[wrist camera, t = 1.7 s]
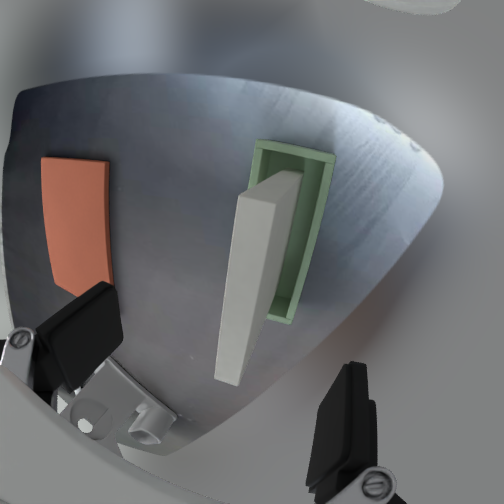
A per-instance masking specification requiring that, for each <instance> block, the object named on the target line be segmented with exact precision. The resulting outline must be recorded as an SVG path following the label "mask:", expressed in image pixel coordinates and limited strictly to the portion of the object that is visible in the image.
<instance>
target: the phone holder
mask: <svg viewBox="0 0 504 504" xmlns="http://www.w3.org/2000/svg"><path fill="white" fill-rule="evenodd" d="M94 372H95V376H94V377H93V378H92V379H91V380H90V381H89V382H88V383H87V384H86V385H85V386H84V388H83V389H82V390H81V391H80V392H79V393H78V394H77V395H76V396H75V398H74V399H73V400H72V401H71V402H70V403H69V404H68V405H67V407H66V408H65V409H64V410H63V411H62V412H61V413H60V415H61V416H62V417H63V418H65V419H66V420H67V421H68V422H70V423H71V424H72V425H74V426H75V427H76V428H78V421H79V420H80V419H82V418H85V419H88V420H89V421H90V422H91V423H92V425H93V429H92V431H91V432H90V433H84V432H83V433H84V434H86V435H87V436H89V437H90V438H92V439H93V440H94V441H96V442H97V443H99V444H100V445H102V446H104V447H105V448H107V449H108V450H110V451H111V452H113V453H115V454H116V455H118V456H120V457H121V458H123V457H122V454H121V452H120V449H119V447H118V444H117V442H116V440H115V433H116V432H117V431H118V430H119V429H120V427H121V426H122V425H123V424H124V423H125V421H126V420H127V419H128V418H129V417H130V416H131V414H132V413H133V412H134V411H135V410H136V411H137V412H139V413H140V414H139V416H138V417H137V419H136V420H135V422H134V423H133V424H132V426H131V427H130V429H129V430H128V432H129V434H130V435H131V436H132V437H133V438H134V439H136V440H137V441H139V442H141V443H143V444H157V443H161V441H162V440H163V438H164V436H165V435H166V433H167V431H168V430H169V428H170V426H171V424H172V423H173V421H176V419H177V415H176V414H175V413H174V412H173V411H172V410H170V409H169V408H168V407H166V406H165V405H164V404H163V403H161V402H160V401H159V400H158V399H156V398H155V397H154V396H153V395H152V394H150V393H149V392H148V391H147V390H146V389H145V388H143V387H142V386H141V385H140V384H139V383H138V382H137V381H136V380H134V379H133V378H132V377H131V376H130V375H129V374H128V373H127V372H126V371H125V370H124V369H123V368H122V367H121V366H119V365H118V364H117V363H116V362H115V361H114V360H113V359H112V358H111V357H110V356H109V357H108V358H107V359H106V360H105V361H104V362H103V363H102V364H101V365H100V366H99V367H98V368H97V369H96V370H95V371H94ZM78 429H79V428H78ZM79 430H80V429H79ZM80 431H81V430H80Z"/></svg>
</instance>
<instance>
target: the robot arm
mask: <svg viewBox="0 0 504 504" xmlns="http://www.w3.org/2000/svg"><path fill="white" fill-rule="evenodd" d="M36 332H37V334H36V335H34V332H33V331H32V330H31V329H30V328H28V327H19V328H16V329H14V330H13V331H12V332H11V333H10V334H9V335H8V337H7V339H6V340H0V504H228V503H224V502H221V501H218V500H215V499H212V498H209V497H206V496H203V495H200V494H198V493H195V492H192V491H190V490H187V489H185V488H182V487H180V486H177V485H175V484H173V483H170V482H168V481H166V480H164V479H162V478H159V477H157V476H155V475H153V474H151V473H149V472H147V471H145V470H143V469H141V468H139V467H137V466H135V465H134V464H132V463H130V462H128V461H127V460H125V459H123V458H121V457H120V456H118V455H116V454H115V453H113V452H111V451H110V450H108V449H107V448H105V447H104V446H102V445H100V444H99V443H97V442H96V441H94V440H93V439H92V438H90V437H89V436H87V435H86V434H84V433H83V432H82V431H80V430H79V429H78V428H76V427H75V426H74V425H72V424H71V423H70V422H68V421H67V420H66V419H65V418H63V417H62V416H61V415H60V414H58V413H57V394H58V387H59V386H60V385H61V387H62V388H63V389H64V390H65V391H67V392H68V393H69V394H70V393H71V392H72V391H73V390H77V389H78V388H79V387H80V386H81V385H82V384H83V383H84V382H85V381H86V380H87V379H88V378H89V377H90V375H91V374H92V373H93V372H94V371H95V370H96V369H97V368H98V367H99V366H100V365H101V364H102V363H103V362H104V361H105V360H106V359H107V358H108V357H109V356H110V355H111V353H112V352H113V351H114V350H115V349H116V348H117V347H118V346H119V345H120V344H121V343H122V341H123V331H122V324H121V318H120V311H119V303H118V295H117V291H116V290H115V287H114V285H112V284H110V283H107V282H105V281H100V282H99V283H97V284H96V285H94V286H93V287H91V288H90V289H89V290H87V291H86V292H84V293H83V294H81V295H80V296H79V297H77V298H76V299H75V300H73V301H72V302H70V303H69V304H68V305H66V306H65V307H64V308H62V309H61V310H60V311H58V312H57V313H55V314H54V315H53V316H51V317H50V318H49V319H48V320H46V321H45V322H44V323H42V324H41V325H40V326H38V327H37V328H36ZM368 396H369V395H368V379H367V367H366V364H364V363H359V362H354V361H351V362H350V363H349V364H344V365H343V367H342V369H341V370H340V372H339V374H338V376H337V378H336V379H335V381H334V383H333V384H332V386H331V388H330V389H329V391H328V393H327V394H326V396H325V398H324V399H323V401H322V402H321V404H320V406H319V409H318V413H317V420H316V427H315V433H314V440H313V446H312V452H311V458H310V463H309V469H308V474H307V479H306V486H309V493H315V499H314V501H315V504H407V503H406V502H405V501H403V500H402V499H401V498H400V497H399V496H398V495H397V494H396V493H395V491H396V487H397V482H396V478H395V476H394V475H393V473H392V472H391V471H390V470H388V469H386V468H384V467H380V466H377V415H376V404H375V401H374V400H369V397H368Z"/></svg>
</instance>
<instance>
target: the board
mask: <svg viewBox="0 0 504 504" xmlns="http://www.w3.org/2000/svg"><path fill="white" fill-rule="evenodd" d="M303 176H304V171H301V170H296V169H292V168H285V169H284V170H282V171H280V172H278V173H276V174H275V175H273V176H271V177H269V178H268V179H266V180H264V181H262V182H261V183H259V184H257V185H255V186H254V187H252V188H250V189H249V190H247V191H245V192H243V193H242V194H240V195H239V196H238V202H237V208H236V215H235V222H234V229H233V236H232V243H231V250H230V257H229V264H228V271H227V279H226V286H225V294H224V302H223V309H222V317H221V325H220V334H219V342H218V350H217V359H216V368H215V377H214V378H215V379H217V380H220V381H223V382H226V383H229V384H232V385H235V386H239V383H240V381H241V379H242V376H243V374H244V371H245V369H246V367H247V364H248V362H249V359H250V357H251V354H252V352H253V349H254V347H255V344H256V342H257V339H258V337H259V334H260V332H261V329H262V327H263V324H264V322H265V319H266V317H267V314H268V311H269V309H270V306H271V304H272V301H273V298H274V296H275V293H276V290H277V288H278V285H279V282H280V278H281V274H282V270H283V266H284V261H285V257H286V253H287V249H288V244H289V240H290V236H291V231H292V227H293V223H294V218H295V214H296V209H297V205H298V200H299V195H300V191H301V186H302V181H303Z"/></svg>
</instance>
